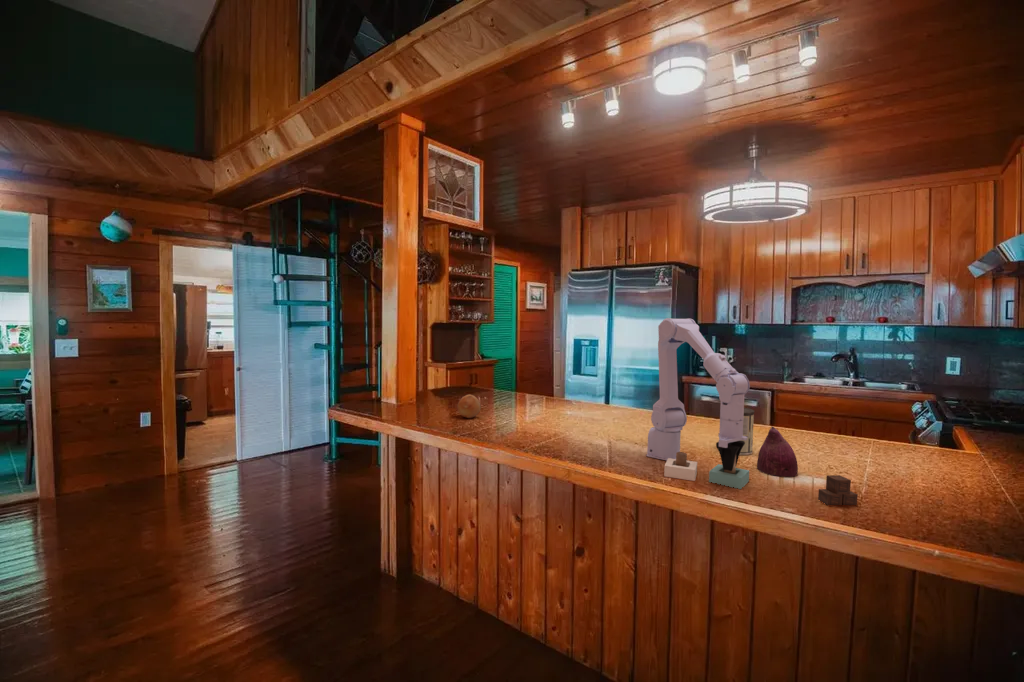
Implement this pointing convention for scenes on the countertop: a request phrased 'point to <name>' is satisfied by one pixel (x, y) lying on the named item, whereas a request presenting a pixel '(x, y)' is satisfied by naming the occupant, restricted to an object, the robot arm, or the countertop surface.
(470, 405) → the onion
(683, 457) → the walnut dowel
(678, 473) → the white peg holder
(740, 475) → the teal square frame block
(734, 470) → the maple dowel
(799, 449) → the countertop surface
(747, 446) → the coffee can
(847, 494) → the stack of crates
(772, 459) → the vegetable
